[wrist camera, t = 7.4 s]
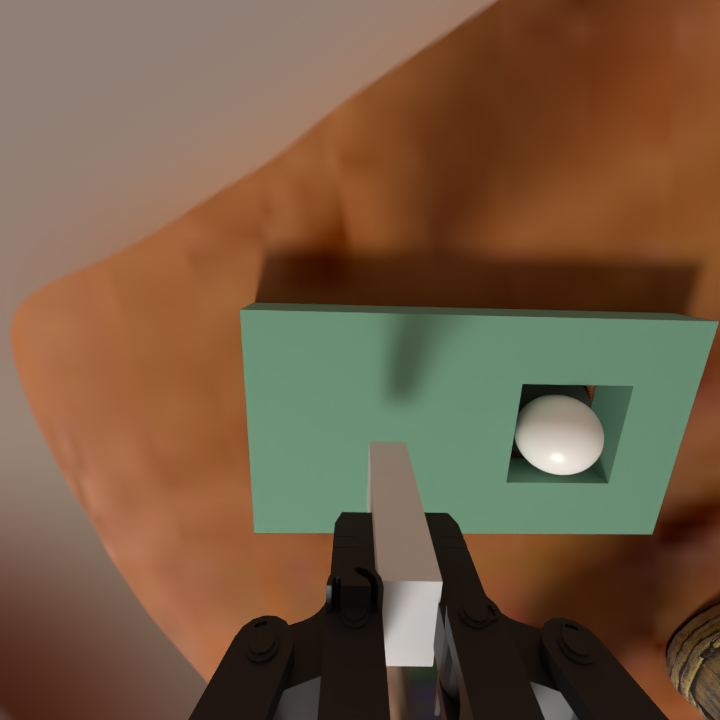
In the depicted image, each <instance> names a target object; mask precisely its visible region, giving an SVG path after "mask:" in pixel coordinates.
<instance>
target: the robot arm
mask: <svg viewBox="0 0 720 720" xmlns="http://www.w3.org/2000/svg"><path fill="white" fill-rule="evenodd" d="M434 653H435V658H436V663H437V668H438V679H437V687H436V695H435V703H434V715H439V712H440V711H441V716H442V720H669V719H668V718H667V717H666V716H665V715H664V714H663V712H662V711H661V710H660V709H659V708H658V707H657V706H656V704H655V703H654V702H653V701H652V700H651V699H650V697H649V696H648V695H647V694H646V693H645V692H644V691H643V689H642V688H641V687H640V686H639V685H638V684H637V682H636V681H635V680H634V679H633V678H632V677H631V676H630V674H629V673H628V672H627V671H626V670H625V669H624V667H623V666H622V665H621V664H620V663H619V662H618V660H617V659H616V658H615V657H614V656H613V655H612V654H611V652H610V651H609V650H608V649H607V648H606V647H605V645H604V644H603V643H602V642H601V641H600V640H599V639H598V638H597V637H596V636H595V635H594V634H593V633H592V632H591V631H590V630H588V629H587V628H585V627H583V626H582V625H580V624H578V623H577V622H574V621H571V620H568V619H565V618H553V619H551V620H549V621H548V622H546V623H545V625H544V627H543V630H542V629H538V628H535V627H532V626H529V625H526V624H523V623H520V622H517V621H515V620H512V619H510V618H508V617H507V616H505V615H504V614H502V613H501V612H500V610H499V608H498V607H497V605H496V604H495V603H494V602H493V601H491V600H490V599H489V598H488V597H487V596H486V594H485V592H484V590H483V587H482V585H481V582H480V579H479V577H478V574H477V572H476V569H475V566H474V564H473V561H472V558H471V556H470V553H469V551H468V549H467V545H466V543H465V540H464V539H463V535H462V532H461V530H460V527H459V524H458V523H457V522H456V521H455V520H454V519H453V518H452V517H451V516H450V515H449V513H427V512H424V510H423V506H422V502H421V498H420V495H419V491H418V487H417V483H416V480H415V476H414V472H413V468H412V465H411V461H410V457H409V453H408V450H407V446H406V442H369V457H368V481H367V512H342V513H341V514H340V516H339V517H338V519H337V520H336V522H335V527H334V540H333V552H332V564H331V575H330V576H329V578H328V582H327V585H326V603H325V605H324V606H323V607H322V608H321V610H320V611H319V612H318V613H316V614H315V615H314V616H312V617H310V618H308V619H306V620H304V621H301V622H298V623H295V624H292V625H288V624H287V622H286V621H285V620H283V619H281V618H279V617H277V616H262V617H259V618H256V619H253V620H252V621H250V622H249V623H247V624H246V625H244V626H243V627H242V628H241V630H240V631H239V632H238V634H237V635H236V636H235V638H234V639H233V641H232V643H231V645H230V646H229V648H228V650H227V652H226V654H225V655H224V657H223V659H222V661H221V663H220V664H219V666H218V668H217V670H216V671H215V673H214V675H213V677H212V679H211V680H210V682H209V684H208V686H207V688H206V689H205V691H204V693H203V695H202V696H201V698H200V700H199V702H198V704H197V706H196V707H195V709H194V711H193V712H192V714H191V716H190V718H189V720H390V710H389V696H388V683H387V670H386V666H433V659H434Z"/></svg>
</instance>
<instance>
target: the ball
mask: <svg viewBox="0 0 720 720" xmlns="http://www.w3.org/2000/svg"><path fill="white" fill-rule="evenodd" d="M514 435H515V441H516V444H517V446H518V448H519V450H520V452H521V453H522V455H523V456H524V457H525V458H526V459H527V460H528V461H529V462H530V463H531V464H532V465H534V466H535V467H537V468H538V469H540V470H542V471H545V472H548V473H551V474H557V475H571V474H575V473H579V472H581V471H584V470H585V469H587V468H589V467H590V466H591V465H592V464H594V463H595V462H596V460H597V459H598V458H599V456H600V454H601V452H602V449H603V445H604V432H603V428H602V425H601V423H600V421H599V419H598V417H597V416H596V414H595V413H594V412H593V411H592V410H591V409H590V408H589V407H588V406H587V405H585V404H584V403H582V402H580V401H579V400H577V399H574V398H572V397H568V396H564V395H545V396H541V397H538V398H536V399H534V400H532V401H530V402H529V403H528V404H526V405H525V406H524V407H523V408H522V410H521V411H520V412H519V414H518V416H517V420H516V426H515V433H514Z"/></svg>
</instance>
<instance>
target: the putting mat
mask: <svg viewBox="0 0 720 720" xmlns="http://www.w3.org/2000/svg"><path fill="white" fill-rule="evenodd" d="M240 318H241V333H242V349H243V364H244V379H245V395H246V410H247V425H248V441H249V456H250V471H251V487H252V502H253V517H254V533H334V527H335V522H336V520H337V519H338V517H339V516H340V514H341V513H342V512H367V481H368V457H369V442H406V446H407V450H408V453H409V457H410V461H411V465H412V468H413V472H414V476H415V480H416V483H417V487H418V491H419V495H420V498H421V502H422V506H423V510H424V512H427V513H449V515H450V516H451V517H452V518H453V519H454V520H455V521H456V522H457V523H458V524H459V527H460V530H461V532H462V534H653V530H654V527H655V524H656V521H657V518H658V515H659V511H660V508H661V505H662V502H663V499H664V495H665V492H666V489H667V486H668V483H669V479H670V476H671V473H672V470H673V467H674V463H675V460H676V457H677V454H678V451H679V447H680V444H681V441H682V438H683V435H684V432H685V428H686V425H687V422H688V419H689V416H690V412H691V409H692V406H693V403H694V400H695V396H696V393H697V390H698V387H699V384H700V380H701V377H702V374H703V371H704V368H705V364H706V361H707V358H708V355H709V352H710V348H711V345H712V342H713V339H714V336H715V333H716V329H717V326H718V323H719V321H714V320H708V319H702V318H697V317H691V316H686V315H680V314H675V313H649V312H609V311H570V310H530V309H491V308H452V307H412V306H373V305H333V304H294V303H252V304H250V305H248V306H246V307H244V308H242V309H240ZM582 385H596V387H595V392H594V396H593V401H592V405H591V404H590V399H589V396H588V394H587V392H586V390H585V389H584V387H583V386H582ZM545 395H564V396H568V397H572V398H574V399H577V400H579V401H580V402H582V403H584V404H585V405H587V406H588V407H589V408H590V409H591V410H592V411H593V412H594V413H595V414H596V416H597V417H598V419H599V421H600V423H601V425H602V428H603V432H604V445H603V449H602V452H601V454H600V456H599V458H598V459H597V460H596V462H595V463H594V464H592V465H591V466H590V467H589V468H587V469H585V470H584V471H581V472H579V473H575V474H571V475H557V474H551V473H548V472H545V471H542V470H540V469H538V468H537V467H535V466H534V465H532V464H531V463H530V462H529V461H528V460H527V459H526V458H525V457H511V451H512V450H513V451H515V452H516V453H518V454H521V455H522V453H521V452H520V450H519V448H518V446H517V444H516V441H515V435H514V433H515V426H516V420H517V416H518V414H519V412H520V411H521V410H522V408H523V407H524V406H525V405H526V404H528V403H529V402H530V401H532V400H534V399H536V398H538V397H541V396H545Z"/></svg>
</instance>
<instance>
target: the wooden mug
mask: <svg viewBox="0 0 720 720" xmlns="http://www.w3.org/2000/svg"><path fill="white" fill-rule="evenodd" d="M666 665H667V668H668V672H669V675H670V679H671V682H672V684H673V686H674V687H675V688H676V689H677V690H678V691H679V692H680V693H681V694H682V695H683V696H684V697H685V698H686V699H687V700H688V702H689V703H690V704H691V705H692V706H693V707H694V708H695V709H696V710H697V711H699V712H700V713H701V714H702V716H703V717H704V719H705V720H720V604H719V605H716V606H713V607H711V608H710V609H708V610H706V611H704V612H702V613H700V614H698V615H697V616H696V617H695V618H694V619H692V620H691V621H689V622H688V623H687V624H686V625H685V626H684V627H683V628H682V629H681V630H680V631H679V632H678V633H677V634H676V635H675V637H674V639H673V640H672V642H671V644H670V646H669V648H668V652H667V662H666Z"/></svg>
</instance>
